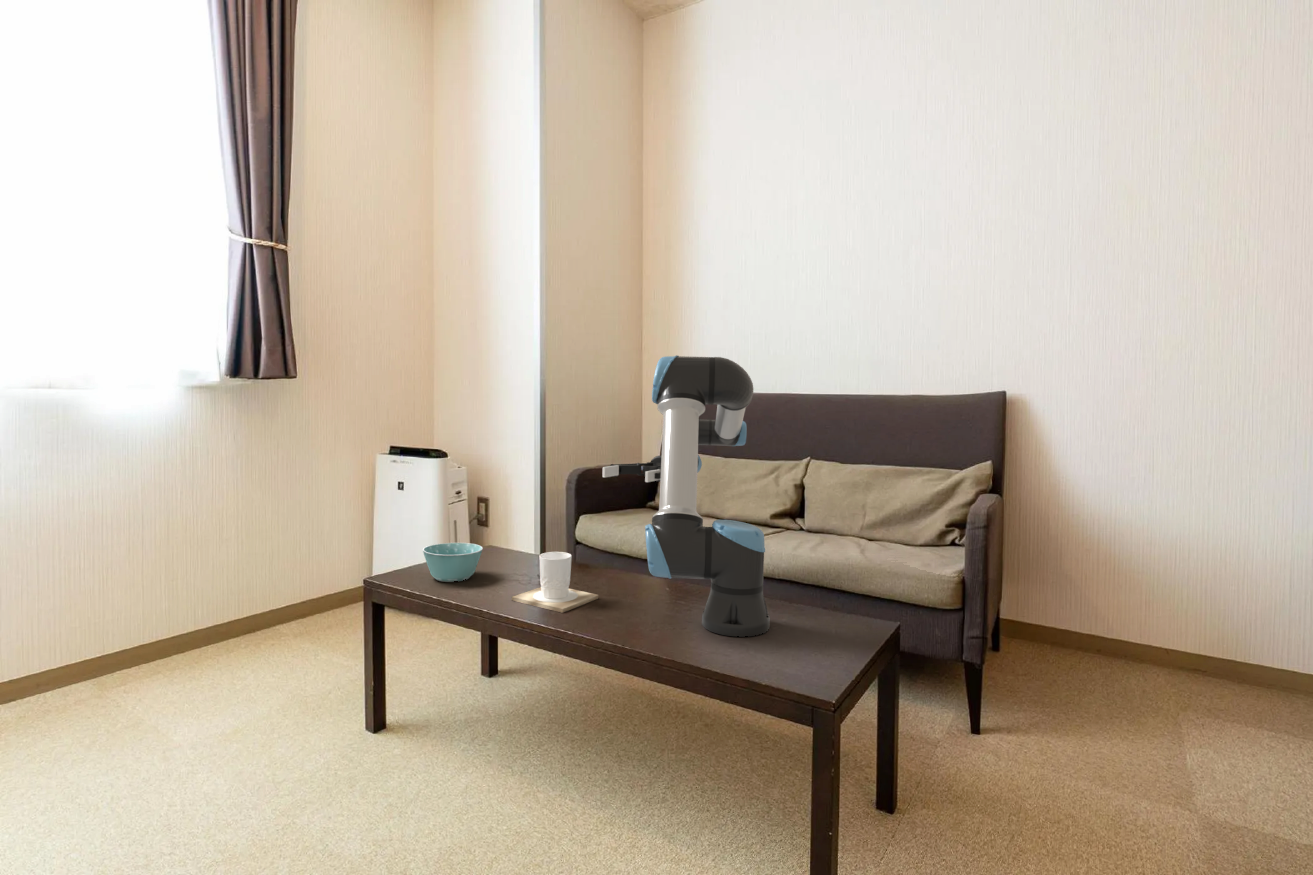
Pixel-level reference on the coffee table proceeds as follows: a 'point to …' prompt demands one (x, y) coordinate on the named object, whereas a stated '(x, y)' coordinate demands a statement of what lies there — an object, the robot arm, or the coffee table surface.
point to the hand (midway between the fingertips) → (624, 474)
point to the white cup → (555, 574)
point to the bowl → (452, 560)
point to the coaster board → (555, 600)
